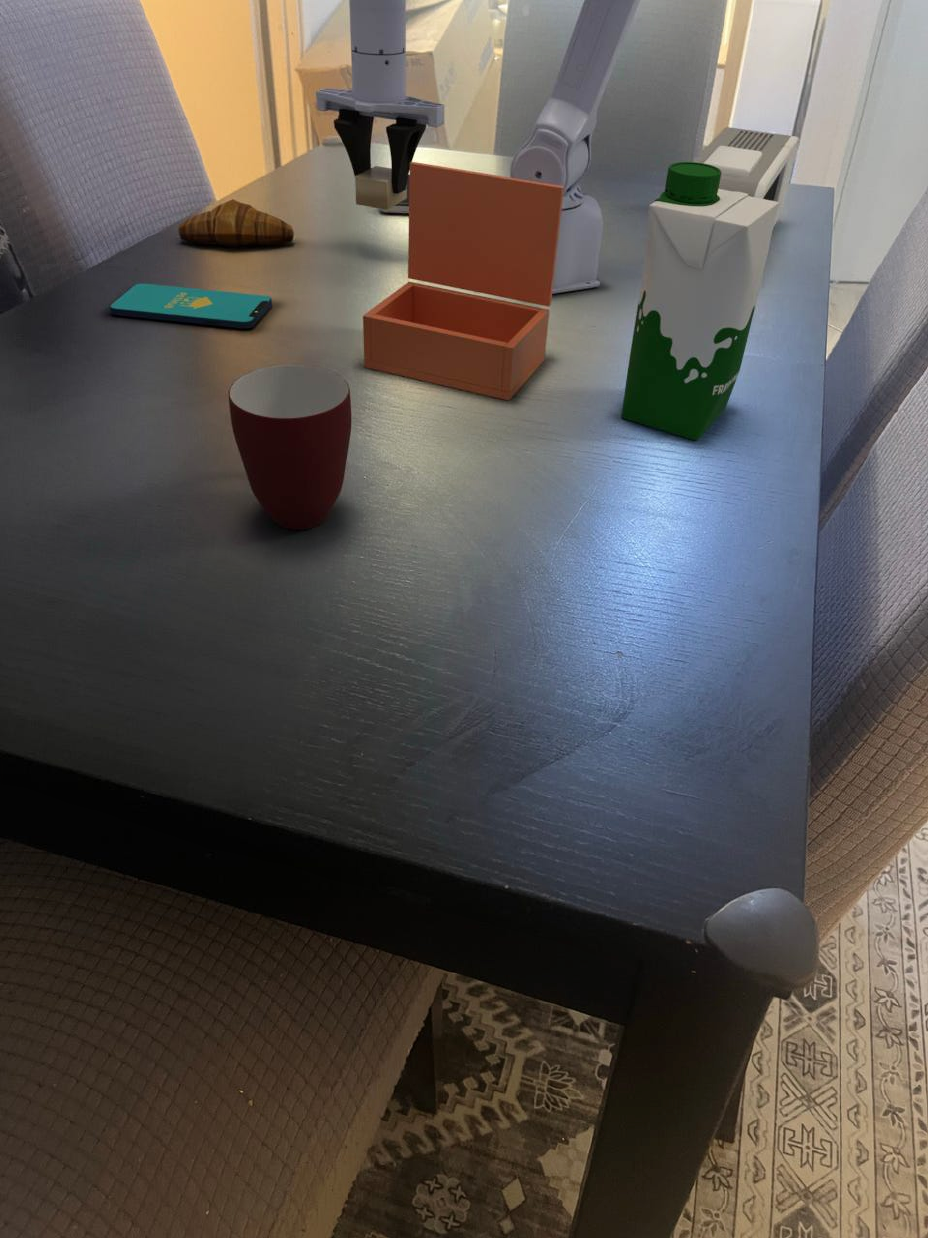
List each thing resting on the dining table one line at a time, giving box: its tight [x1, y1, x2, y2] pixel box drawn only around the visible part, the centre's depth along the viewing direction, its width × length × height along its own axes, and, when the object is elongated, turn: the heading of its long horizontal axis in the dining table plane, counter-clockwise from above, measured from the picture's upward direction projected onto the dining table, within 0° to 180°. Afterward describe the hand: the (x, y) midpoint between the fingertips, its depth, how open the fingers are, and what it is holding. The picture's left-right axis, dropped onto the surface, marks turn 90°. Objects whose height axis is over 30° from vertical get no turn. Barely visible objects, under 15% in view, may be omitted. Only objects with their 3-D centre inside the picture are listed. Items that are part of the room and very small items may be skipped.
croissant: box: [177, 199, 295, 247], centre depth 112 cm, size 14×7×5 cm, turn 94°
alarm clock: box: [692, 126, 800, 227], centre depth 116 cm, size 27×9×12 cm, turn 157°
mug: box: [228, 363, 352, 531], centre depth 68 cm, size 11×8×10 cm
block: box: [354, 165, 407, 210], centre depth 108 cm, size 5×4×3 cm
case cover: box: [407, 161, 564, 307], centre depth 87 cm, size 10×15×1 cm
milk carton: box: [620, 161, 779, 442], centre depth 78 cm, size 9×9×20 cm
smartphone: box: [109, 283, 273, 329], centre depth 97 cm, size 7×1×15 cm
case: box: [362, 281, 550, 401], centre depth 89 cm, size 10×15×5 cm, turn 67°
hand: (381, 187), depth 108 cm, fingers closed on block, 4 cm apart
